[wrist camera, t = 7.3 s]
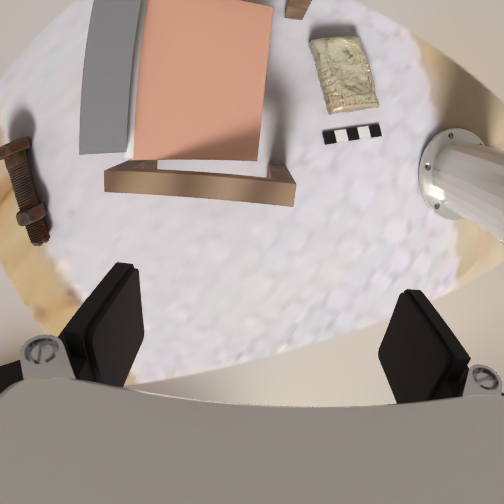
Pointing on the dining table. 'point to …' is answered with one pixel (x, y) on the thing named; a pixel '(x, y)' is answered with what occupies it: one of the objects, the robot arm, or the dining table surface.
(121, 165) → the frame
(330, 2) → the dining table surface
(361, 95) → the cuneiform tablet
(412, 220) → the dining table surface
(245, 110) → the trapdoor
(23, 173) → the bolt
